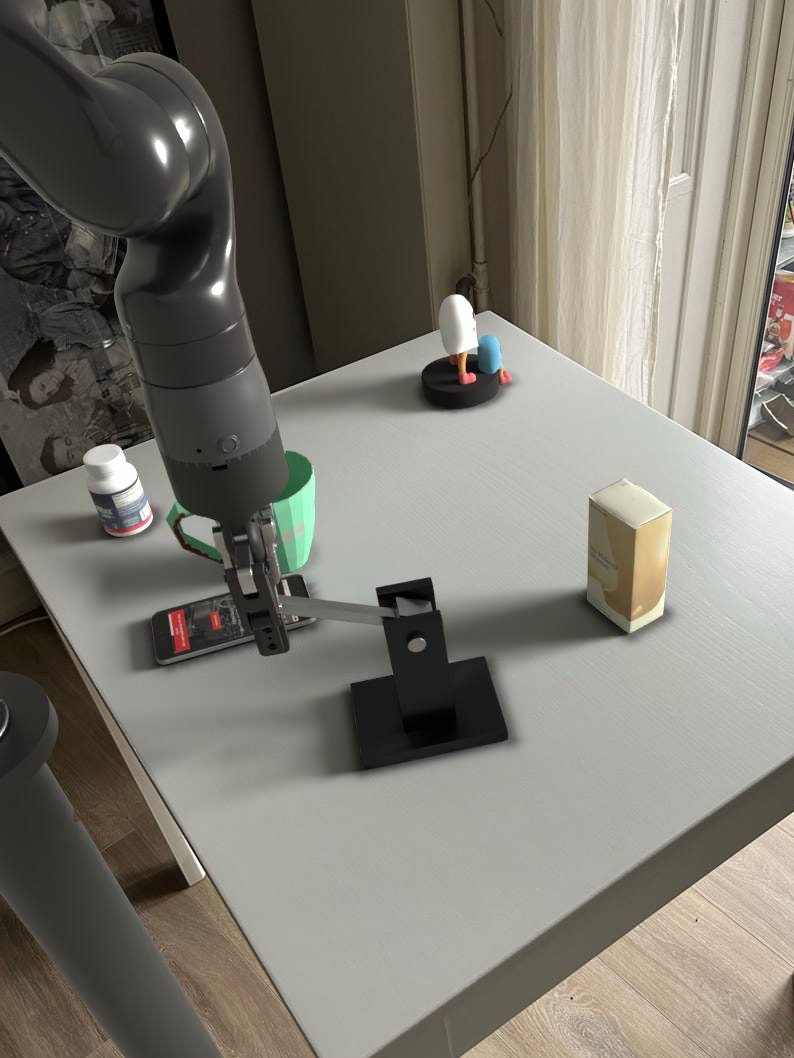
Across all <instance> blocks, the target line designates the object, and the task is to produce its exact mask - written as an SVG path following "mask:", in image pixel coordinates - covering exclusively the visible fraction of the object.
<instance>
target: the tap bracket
mask: <svg viewBox="0 0 794 1058" xmlns="http://www.w3.org/2000/svg"><path fill="white" fill-rule="evenodd" d="M434 589H435V588H434V582H433V579H432V577H431V576H428V577H422V578H417V579H413V580H407V581H402V582H397V583H391V584H388V585H382V586H381V585H380V586H377V587H375V593H376V598H377V599H376V600H377V603H378V607H387V608H392V607H393V604H394V601H395V598H396V597H401V598H409V599H417V600H425V601H430V603H431V607H432V611H430V612H425V613H420V614H415V615H410V616H405V617H400V618H395V619H390V620H385V621H382V623H383V626H382V627H383V632H384V638H385V642H386V647H387V652H388V657H389V662H390V667H391V671H392V674H389V675H384V676H379V677H374V678H369V679H364V680H359V681H355V682H349V687H350V688H349V689H350V694H351V700H352V707H353V712H354V719H355V726H356V733H357V739H358V745H359V751H360V757H361V763H362V767H363V770H364V771H367V770H372V769H376V768H381V767H385V766H391V765H395V764H399V763H404V762H405V763H406V762H408V761H409V762H410V761H412V760H418V759H423V758H428V757H431V756H437V755H442V754H446V753H447V754H448V753H451V752H455V751H460V750H465V749H470V748H474V747H479V746H484V745H488V744H489V745H490V744H493V743H498V742H503V741H508V740H509V731H508V727H507V723H506V719H505V717H504V714H503V711H502V707H501V703H500V700H499V697H498V694H497V691H496V688H495V683H494V681H493V677H492V674H491V671H490V668H489V664H488V661H487V658H486V656H485V655H481V656H476V657H471V658H467V659H462V660H455V661H452V662H450V661H449V655H448V649H447V641H446V634H445V627H444V620H443V615H442V612H441V610H440V609H437V602H436V595H435V590H434Z"/></svg>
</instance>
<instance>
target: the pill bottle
mask: <svg viewBox="0 0 794 1058" xmlns="http://www.w3.org/2000/svg"><path fill="white" fill-rule="evenodd" d="M82 462H83V465H84V468H85V471H86V472H87V475H86V477H85V484H86V488H87V490H88V493H89V495H90V498H91V500H92V502H93V504H94V508H95V509H96V512H97V514H98V516H99V519H100V521H101V523H102V526H103V529H104V530H105V531H106V533H107V534H108V535H111V536H114V537H123V538H124V537H130V536H133V535H136V534H139V533H141V532H143V531H144V530H146V529H147V528H148V527H149V526H150V525H151V523H152V521H153V518H154V517H153V516H154V515H153V512H152V509H151V507H150V504H149V501H148V499H147V496H146V493H145V491H144V489H143V485H142V483H141V479H140V476H139V475H138V472H137V470H136V468H135V467H134V466H133V464H131V463H129V462H127V461H126V456H125V454H124V452H123V450H122V448H121V446H120V445H118V444H112V443H105V444H101V445H97V446H95V447H92V448H90V449H89V450H88V451H86V452H85V453H84V454H83V457H82Z"/></svg>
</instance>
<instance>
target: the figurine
mask: <svg viewBox="0 0 794 1058" xmlns="http://www.w3.org/2000/svg"><path fill="white" fill-rule="evenodd" d="M476 326H477V324H476V315H475V312H474V310H473V307H472V305H471V304H470V301H468V299H466V298H465V297H464V296H463V295H462V294H450V295H449V296H447V297H445V298H444V299H443V301H442V302H441V305H440V307H439V313H438V327H439V332H440V337H441V342H442V346H443V348H444V351H445V353H446V354H448V355H447V356H443V357H440V358H438V359H435V360H433V361H431V362H430V363H428V364H426V365H425V366H424V367H423V368H422V371H421V374H420V379H421V385H422V392H423V397H424V398H425V400H426V401H427V402H429V403H430V404H431V405H433V406H435V407H439V408H443V409H449V410H451V409H455V410H457V409H466V408H472V407H476V406H479V405H481V404H485V403H487V402H488V401H491V400H493V398H494V397H496V396H497V394H498V392H499V389H500V385H504V384H506V383H510V382H512V381H513V378H512V376H511V375H510V373H509V371H507V370H504V368H505V367H504V364H503V363H502V362H503V361H502V346H501V344H500V342H499V340H498V338H497V337H496V336H494V335H491V334H486V335H483V336H481V337H480V338H479V339H477V327H476ZM474 348H476V351H477V354H475V353H468V351H469V350H471V349H474Z"/></svg>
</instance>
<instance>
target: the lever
mask: <svg viewBox="0 0 794 1058" xmlns="http://www.w3.org/2000/svg"><path fill="white" fill-rule="evenodd" d="M278 597H279V602H280V603H282V607H283V610H281V612H282V614H284V615H292V616H301V617H310V618H316V619H319V620H320V619H321V620H328V621H329V620H330V621H337V622H347V623H355V624H356V623H357V624H364V625H373V626H382V627H383V623H382V621H385V620H390V619H395V618H400V617H405V616H410V615H415V614H420V613H425V612H430V611H432V607H431V603H430V601H425V600H417V599H409V598H401V597H396V598H395V601H394V604H393V607H392V608H387V607H379V605H378V606H377V605H369V604H362V603H361V604H360V603H354V602H353V603H352V602H345V601H344V602H343V601H337V600H326V599H321V598H320V599H319V598H311V597H310V598H303V597H295V596H286V595H278Z"/></svg>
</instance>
